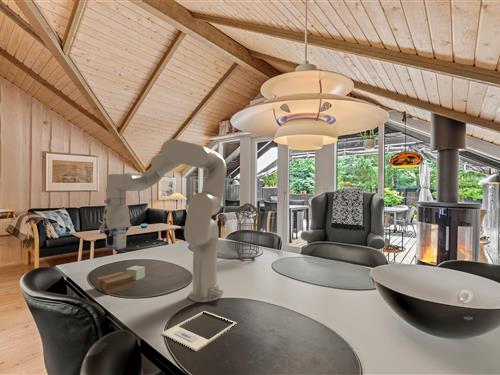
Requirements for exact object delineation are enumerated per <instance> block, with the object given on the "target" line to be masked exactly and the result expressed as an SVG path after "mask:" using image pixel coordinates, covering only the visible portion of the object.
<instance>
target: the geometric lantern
mask: <svg viewBox="0 0 500 375" xmlns="http://www.w3.org/2000/svg"><path fill="white" fill-rule="evenodd" d="M246 210H247V211H246ZM233 213H234V214H235V217H236V219H237V220H236V221H237V225H236V235H235V244H234V245H235V246H234V252H236V254H237V255H238V259H239V260H240V261H242V262H247V261H249V259H244V258H251V261H255V257H256V256H257V255H258V254H259V253H260V252H259V243H260V242H258V237H259V224H258V222H259V221H258V220H259V218H260V217H261V216H262V215H263V214H264V212H263V211H261V209H259V208H257V207H256V206H255V205H253V204H252V203H249V202H246V203H245V204H243V205H242V206H240V207H238V208H236V209H235V210H233ZM240 215H241V216H242V217H241V219H240V218H239V217H240ZM250 216H251V217H250ZM243 217H246V219H245V221H244V222H242V220H243ZM255 218H256V219H255ZM251 219H252V220H253V222H252V220H251ZM247 220H249V222H246V221H247ZM244 226H246V227H249V226H250V229H251V230H250V239H252V238H253V237H252V235H253V227H254V229H256V233H255V239H253V248H252V240H250V245H249V248H244V229H242V227H244ZM241 234H242V236H241ZM241 237H242V238H241ZM241 240H242V241H241ZM241 242H242V243H241ZM240 244H241V249H240ZM248 250H249V252H244V251H248ZM240 251H241V252H240ZM244 255H245V256H244ZM246 255H247V256H246Z"/></svg>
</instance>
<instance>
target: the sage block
mask: <svg viewBox="0 0 500 375" xmlns="http://www.w3.org/2000/svg"><path fill="white" fill-rule="evenodd" d="M125 273H126V274H129V275H131V276H134V281H139V280H141V279H143V278H145V277H146V267H145V266H141V265H133V266H130V267H128V268H126V269H125Z"/></svg>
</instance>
